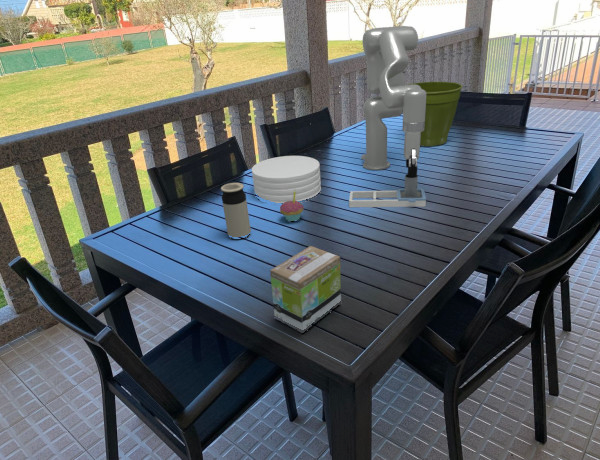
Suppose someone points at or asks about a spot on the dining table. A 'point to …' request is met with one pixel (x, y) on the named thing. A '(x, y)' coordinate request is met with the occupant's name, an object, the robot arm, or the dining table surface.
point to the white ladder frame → (387, 203)
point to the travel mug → (235, 210)
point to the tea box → (306, 286)
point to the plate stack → (287, 178)
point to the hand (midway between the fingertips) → (411, 171)
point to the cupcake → (291, 209)
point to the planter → (411, 186)
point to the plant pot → (439, 111)
